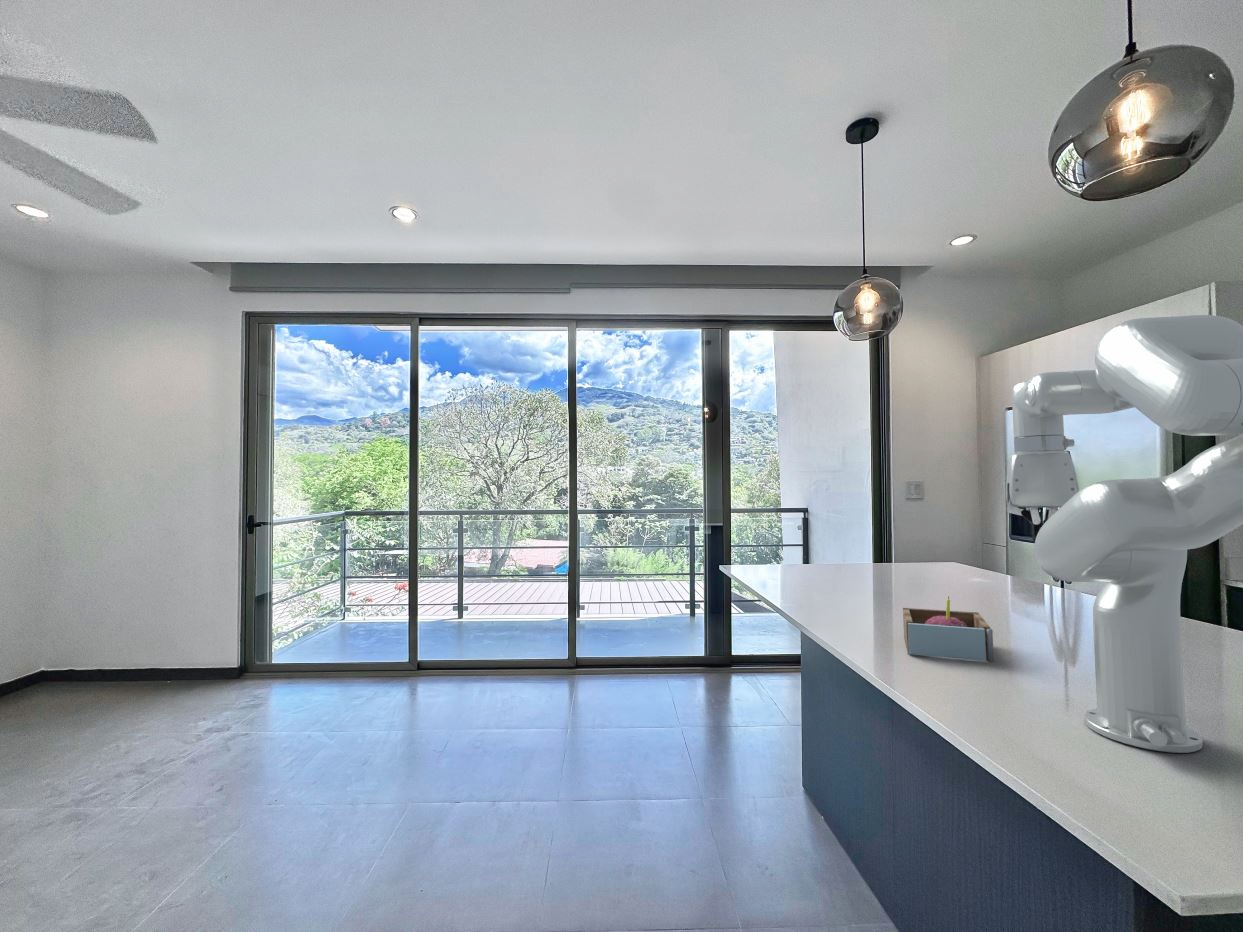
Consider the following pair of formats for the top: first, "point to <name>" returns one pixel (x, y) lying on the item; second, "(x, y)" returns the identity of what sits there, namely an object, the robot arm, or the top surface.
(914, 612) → the wooden box
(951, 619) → the cupcake
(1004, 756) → the top surface
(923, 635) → the blue grey rectangular panel
